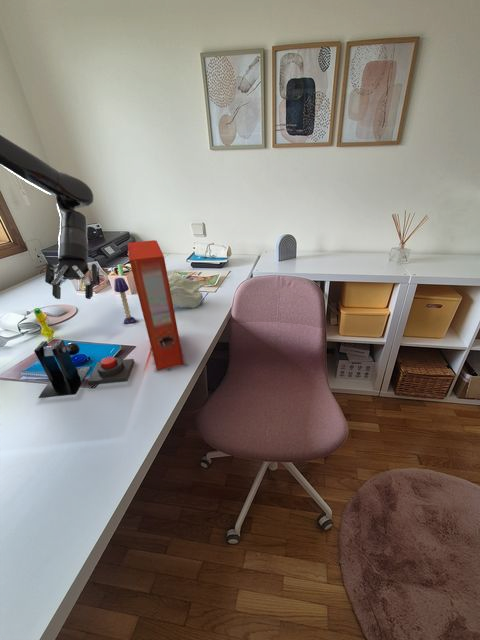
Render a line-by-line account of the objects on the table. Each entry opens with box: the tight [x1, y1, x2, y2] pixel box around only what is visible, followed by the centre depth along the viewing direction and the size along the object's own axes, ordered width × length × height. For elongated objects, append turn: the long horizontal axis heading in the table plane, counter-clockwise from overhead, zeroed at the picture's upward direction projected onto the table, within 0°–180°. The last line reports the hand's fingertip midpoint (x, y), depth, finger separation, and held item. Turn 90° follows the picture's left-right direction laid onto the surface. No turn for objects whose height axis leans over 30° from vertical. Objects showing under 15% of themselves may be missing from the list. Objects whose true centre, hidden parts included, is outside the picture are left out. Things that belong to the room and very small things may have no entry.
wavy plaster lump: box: [168, 275, 206, 309], centre depth 119 cm, size 18×13×16 cm
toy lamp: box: [113, 277, 137, 325], centre depth 108 cm, size 5×5×17 cm
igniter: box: [100, 356, 117, 369], centre depth 83 cm, size 4×4×2 cm
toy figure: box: [33, 307, 55, 340], centre depth 99 cm, size 7×4×12 cm, turn 26°
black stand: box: [33, 339, 92, 399], centre depth 79 cm, size 12×9×13 cm
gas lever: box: [43, 342, 81, 357], centre depth 81 cm, size 13×4×4 cm, turn 8°
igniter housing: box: [86, 357, 135, 386], centre depth 84 cm, size 10×9×4 cm
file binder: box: [127, 239, 185, 371], centre depth 86 cm, size 8×17×32 cm, turn 22°
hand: (72, 298), depth 90 cm, fingers open, 8 cm apart
